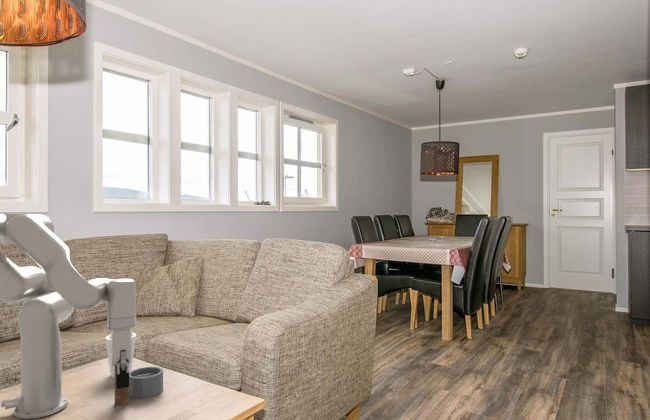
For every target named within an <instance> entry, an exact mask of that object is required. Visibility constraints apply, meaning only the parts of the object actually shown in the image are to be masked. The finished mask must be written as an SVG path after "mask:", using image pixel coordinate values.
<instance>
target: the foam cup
mask: <svg viewBox="0 0 650 420" xmlns="http://www.w3.org/2000/svg"><path fill="white" fill-rule="evenodd" d="M136 342H137V334H136V333H134V332H132V346H131V362H130V363H129V373H130V372H131V371H132V370H133V369H132V368H133V362H134V356H135V347H136ZM105 347H106V352H107V360H108V367H109V373H110V377H111V378H114V379H115V365H114V366H112V365H111V334H110V335H107V336H105Z"/></svg>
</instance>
